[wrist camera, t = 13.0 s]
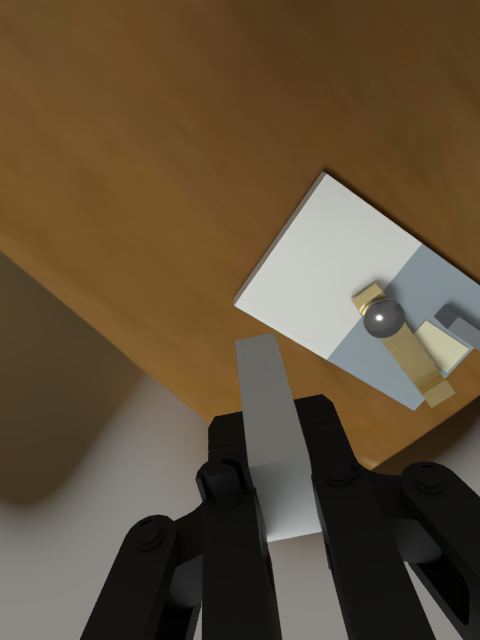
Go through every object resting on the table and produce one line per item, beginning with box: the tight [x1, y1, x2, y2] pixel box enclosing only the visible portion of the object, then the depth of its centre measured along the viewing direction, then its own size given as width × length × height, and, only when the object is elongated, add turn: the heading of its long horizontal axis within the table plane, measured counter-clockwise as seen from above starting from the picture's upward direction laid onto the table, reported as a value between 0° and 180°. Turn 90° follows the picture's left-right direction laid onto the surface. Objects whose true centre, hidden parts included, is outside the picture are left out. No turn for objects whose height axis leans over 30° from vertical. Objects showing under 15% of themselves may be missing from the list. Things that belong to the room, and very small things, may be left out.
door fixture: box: [233, 171, 480, 411], centre depth 43 cm, size 14×23×4 cm, turn 56°
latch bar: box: [351, 284, 455, 408], centre depth 43 cm, size 13×4×3 cm, turn 38°
